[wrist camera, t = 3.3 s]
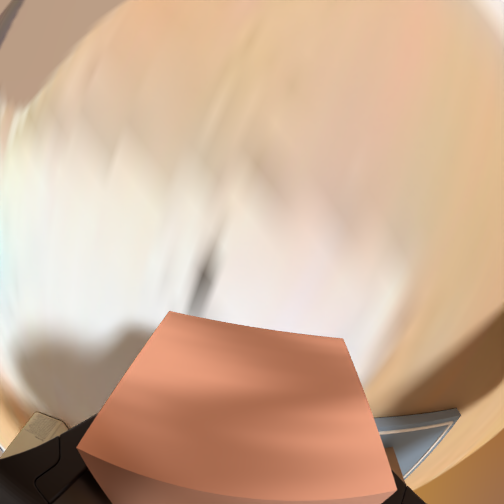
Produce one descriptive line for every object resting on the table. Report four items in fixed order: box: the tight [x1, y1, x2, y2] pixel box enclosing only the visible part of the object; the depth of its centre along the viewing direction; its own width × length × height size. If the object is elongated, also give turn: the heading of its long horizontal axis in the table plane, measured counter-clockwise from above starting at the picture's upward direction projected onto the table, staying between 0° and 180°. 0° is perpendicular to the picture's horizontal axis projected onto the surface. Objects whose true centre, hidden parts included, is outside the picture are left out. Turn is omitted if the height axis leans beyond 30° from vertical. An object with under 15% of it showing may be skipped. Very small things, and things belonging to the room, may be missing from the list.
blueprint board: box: [374, 408, 461, 483], centre depth 15 cm, size 20×14×6 cm
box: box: [0, 412, 68, 459], centre depth 14 cm, size 5×4×13 cm
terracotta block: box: [76, 311, 397, 504], centre depth 6 cm, size 5×5×5 cm
